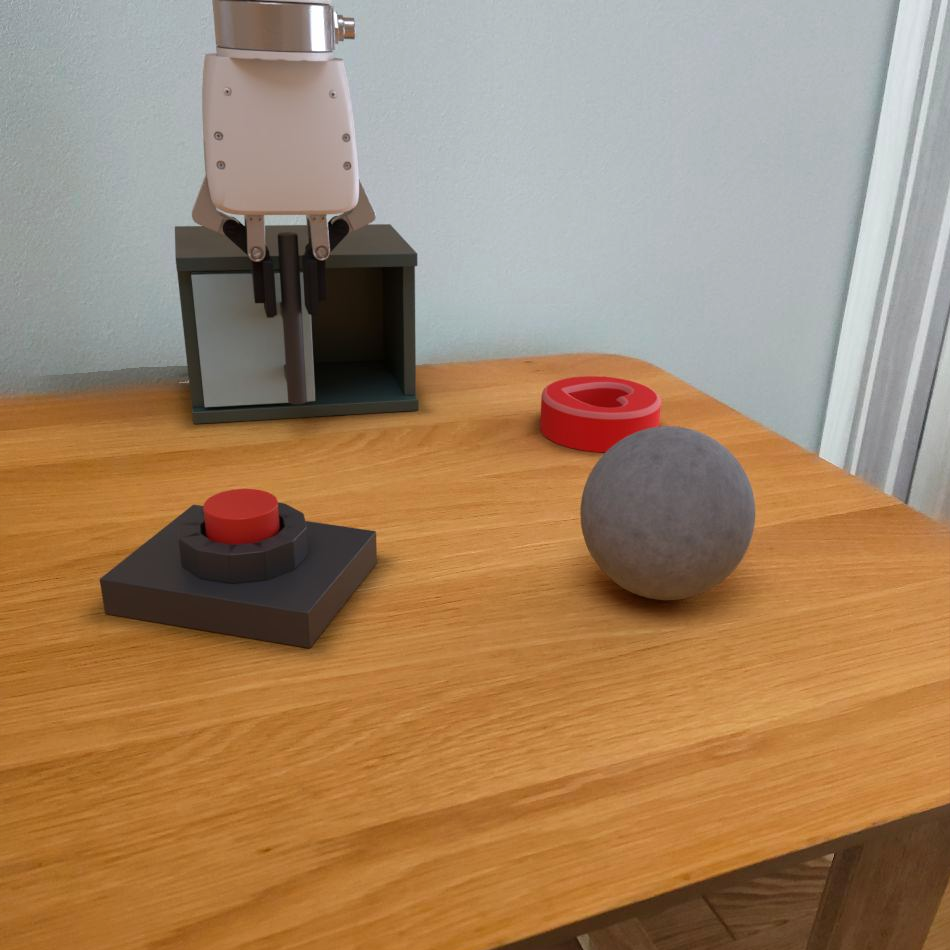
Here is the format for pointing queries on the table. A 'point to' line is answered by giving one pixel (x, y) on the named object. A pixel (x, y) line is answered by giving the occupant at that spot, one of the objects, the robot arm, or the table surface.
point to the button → (241, 516)
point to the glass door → (254, 336)
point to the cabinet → (324, 322)
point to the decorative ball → (667, 513)
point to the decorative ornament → (596, 411)
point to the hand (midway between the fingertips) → (291, 310)
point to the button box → (243, 578)
